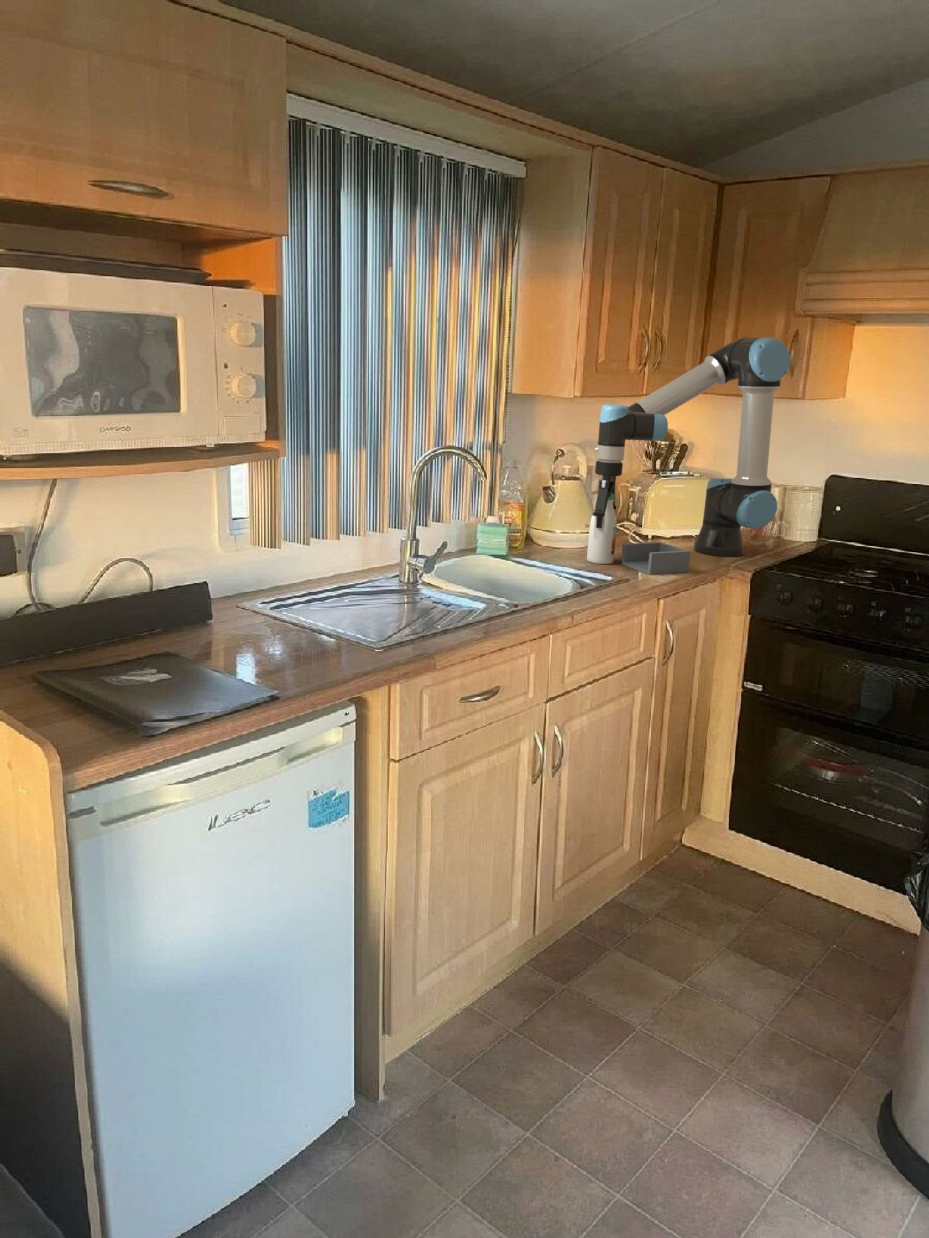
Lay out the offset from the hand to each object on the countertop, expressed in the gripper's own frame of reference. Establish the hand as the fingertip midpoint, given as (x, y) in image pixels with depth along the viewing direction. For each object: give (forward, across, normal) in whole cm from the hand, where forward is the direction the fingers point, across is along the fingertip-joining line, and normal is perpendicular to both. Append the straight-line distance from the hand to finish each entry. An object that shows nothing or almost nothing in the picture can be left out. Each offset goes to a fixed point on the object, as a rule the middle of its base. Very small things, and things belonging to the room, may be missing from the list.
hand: (602, 535), depth 276 cm
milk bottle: (+8, 0, 0) cm, 8 cm away
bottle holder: (+8, 0, +16) cm, 17 cm away
